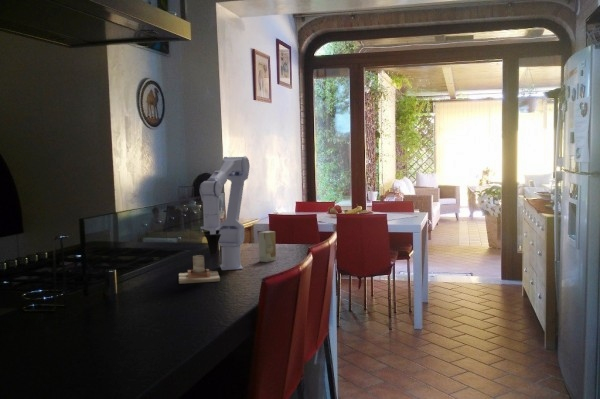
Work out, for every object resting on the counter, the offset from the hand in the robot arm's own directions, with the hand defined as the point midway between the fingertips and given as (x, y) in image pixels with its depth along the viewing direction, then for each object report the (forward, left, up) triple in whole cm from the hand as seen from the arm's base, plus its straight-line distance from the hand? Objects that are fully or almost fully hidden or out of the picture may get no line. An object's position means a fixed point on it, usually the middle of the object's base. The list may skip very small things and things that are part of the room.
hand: (212, 251), depth 210 cm
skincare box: (-27, +24, -9) cm, 37 cm away
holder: (+1, -5, -9) cm, 11 cm away
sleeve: (+1, -5, -8) cm, 10 cm away
